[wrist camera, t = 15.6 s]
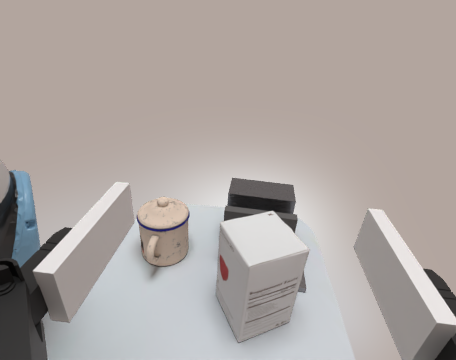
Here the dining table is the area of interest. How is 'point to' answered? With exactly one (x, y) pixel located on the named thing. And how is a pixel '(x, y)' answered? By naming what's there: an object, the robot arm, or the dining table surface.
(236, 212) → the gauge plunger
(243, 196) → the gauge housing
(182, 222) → the teacup with lid
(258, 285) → the supplement box
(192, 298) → the dining table surface
